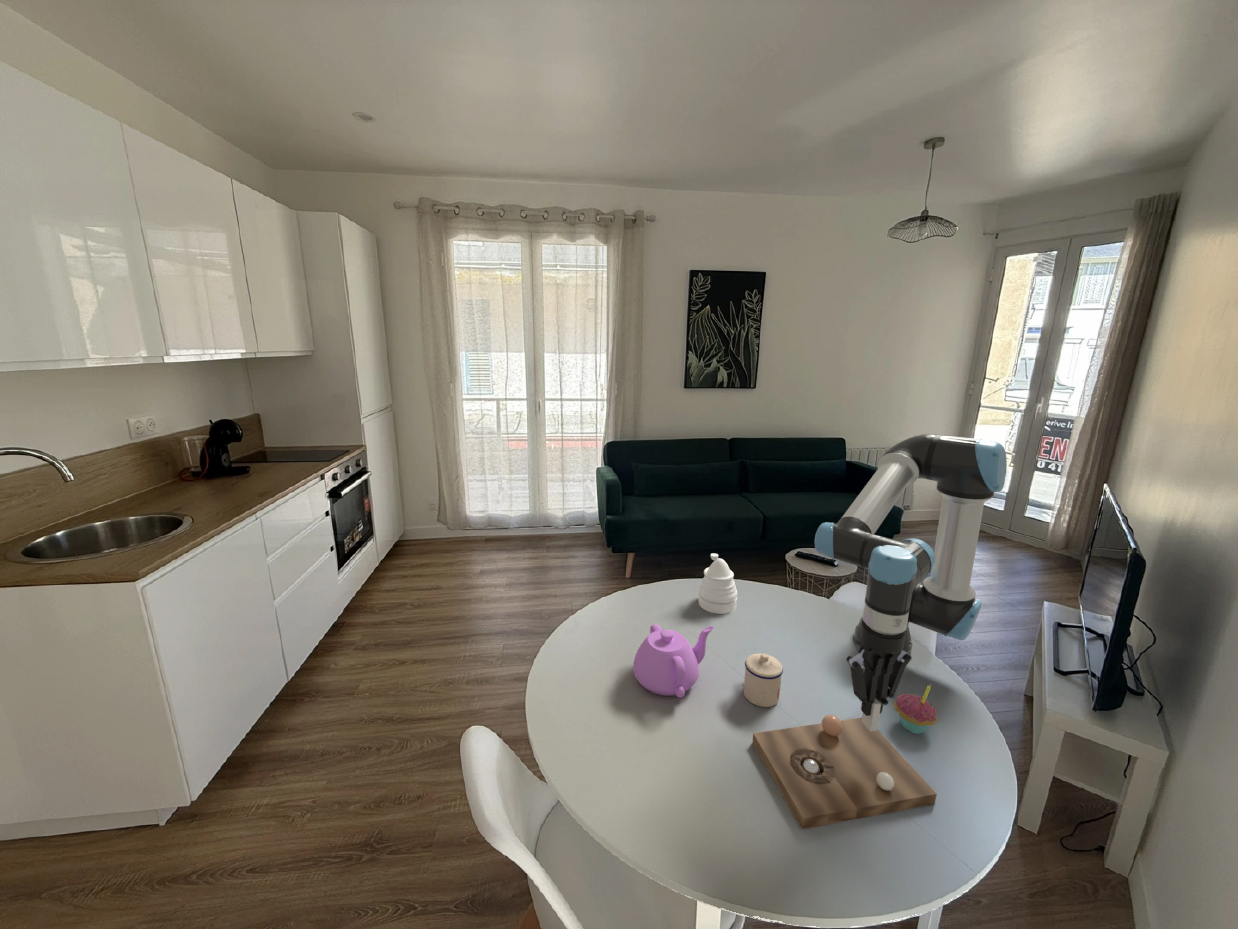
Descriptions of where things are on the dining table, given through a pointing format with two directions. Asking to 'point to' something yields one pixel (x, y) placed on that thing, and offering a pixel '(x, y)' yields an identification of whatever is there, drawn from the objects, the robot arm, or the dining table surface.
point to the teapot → (669, 661)
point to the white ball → (885, 781)
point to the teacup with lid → (762, 679)
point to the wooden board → (840, 773)
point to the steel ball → (811, 767)
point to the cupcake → (915, 711)
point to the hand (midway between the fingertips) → (869, 725)
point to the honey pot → (718, 588)
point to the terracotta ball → (832, 725)
